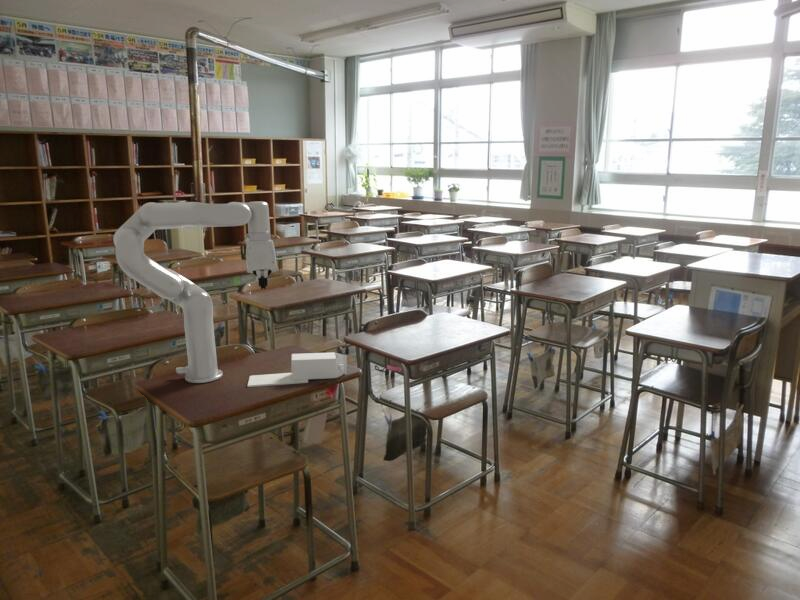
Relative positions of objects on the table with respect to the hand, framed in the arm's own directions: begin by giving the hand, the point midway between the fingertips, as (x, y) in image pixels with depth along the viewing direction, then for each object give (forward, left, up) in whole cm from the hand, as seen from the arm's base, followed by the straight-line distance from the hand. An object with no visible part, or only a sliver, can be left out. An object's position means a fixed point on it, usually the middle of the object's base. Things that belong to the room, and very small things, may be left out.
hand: (263, 288), depth 219 cm
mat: (+4, -16, -29) cm, 34 cm away
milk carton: (+8, -16, -25) cm, 31 cm away
